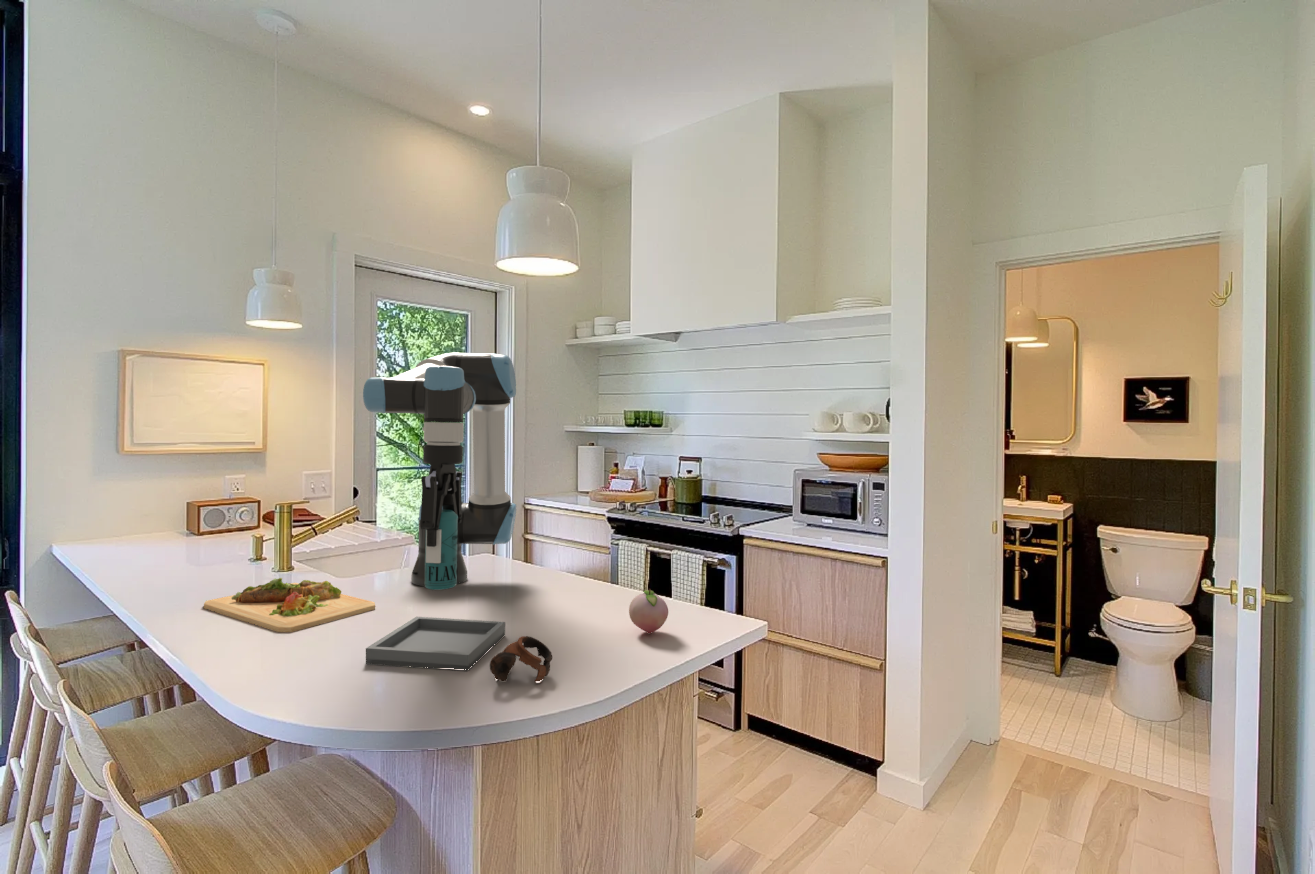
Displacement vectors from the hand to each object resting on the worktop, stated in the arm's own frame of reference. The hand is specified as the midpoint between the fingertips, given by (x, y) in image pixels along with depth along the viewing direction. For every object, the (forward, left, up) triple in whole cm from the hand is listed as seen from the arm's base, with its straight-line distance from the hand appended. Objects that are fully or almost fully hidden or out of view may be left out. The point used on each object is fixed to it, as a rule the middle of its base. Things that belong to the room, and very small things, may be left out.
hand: (441, 558), depth 131 cm
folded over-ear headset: (+12, +20, -19) cm, 30 cm away
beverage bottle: (0, 0, -7) cm, 7 cm away
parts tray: (0, 0, -18) cm, 18 cm away
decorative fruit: (-17, +40, -19) cm, 47 cm away
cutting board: (-21, -47, -19) cm, 55 cm away
